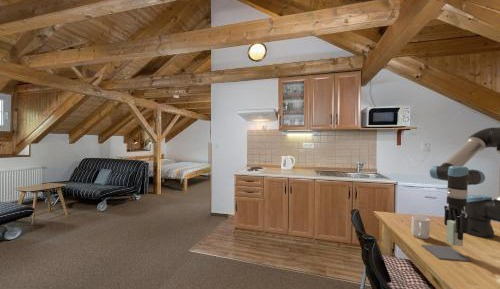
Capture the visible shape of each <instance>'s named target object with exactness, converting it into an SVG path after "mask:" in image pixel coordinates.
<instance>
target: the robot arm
mask: <svg viewBox="0 0 500 289" xmlns="http://www.w3.org/2000/svg"><path fill="white" fill-rule="evenodd" d="M486 148H496V152H497V153H499V154H500V127H486V128H483V129H481V130H478V131H476V132H475V133H473V134H471V135H470V136H468V137H467V138H466V139H465V142H464V144H463V145H461V146H460V147H459V148H458V149H457V150H456V151H455V152H454V153H453V154H451V155H450V156H449V158H447V159H446V160H444V162H443V163H442V164H441V165H433V166H432V167H430V169H429V175H430V177H431V178H432V179H435V180H440V181H446V182H447V188H446V189H447V191H446V192H447V193H446V195H447V196H446V205H444V218H443V219H444V220H443V222H444V223H443V224H444V225H445V226H447V220H455V221H456V229H457V231H455V245H454V246H458V247H463V246H462V240H463V241H464V234H468V235H471V236H474V237H475V236H476V237H479V238H485V239H492V238H495V231H494V228H493V226H492V223H491V222H492V221H494V222H498V223H500V167H499V171H498V174H499V175H498V189H497V190H498V191H497V196H494V198H493V197H492V196H488V195H483V194H482V195H480V194H479V195H478V194H475V195H474V194H470V195H468V186H473V185H474V186H476V185H480V184H483V183H484V182H485V180H486V176H485V174H484V173H483V172H482V171H481V170H479V169H469V167H468V166H465V165H466V164H467V163H468V162H469V161H470V160H471V159H472V158H473V157H475V156H476V155H477V154H478V153H479V152H482V151H483V150H485V149H486ZM447 204H448V205H447Z"/></svg>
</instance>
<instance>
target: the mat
mask: <svg viewBox="0 0 500 289" xmlns="http://www.w3.org/2000/svg"><path fill="white" fill-rule="evenodd" d="M420 246H421V247H422V248H424V249H425V250H426V251H427V252H428V253H430V254H431V255H433V256H434V257H435V258H437V259H438V260H446V261H456V262H457V261H459V262H472V260H471V259H470V258H469V257H467V256H465V255H464V254H462V253H461V252H459V251H457V250H456V249H455V248H453V247H451V246H447V245H435V244H434V245H433V244H421V245H420Z"/></svg>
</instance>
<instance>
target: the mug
mask: <svg viewBox="0 0 500 289" xmlns="http://www.w3.org/2000/svg"><path fill="white" fill-rule="evenodd" d="M430 224H431V220H430V218H428V217H426V216H421V215H412V216H411V228H410V229H411V232H410V234H411V235H412V236H413V237H415V238H417V239H423V240H427V239H429V238H430V232H431V231H430V229H431V228H430V226H431V225H430Z"/></svg>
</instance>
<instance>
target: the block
mask: <svg viewBox="0 0 500 289" xmlns="http://www.w3.org/2000/svg"><path fill="white" fill-rule="evenodd" d="M455 231H457V229H456V220H447V225H446V236H445V238H446V239H445V242H447V243H448V244H450V245H451V246H456V245H455ZM463 243H464V239H463V240H462V246H461V247H463V245H464V244H463Z"/></svg>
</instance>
